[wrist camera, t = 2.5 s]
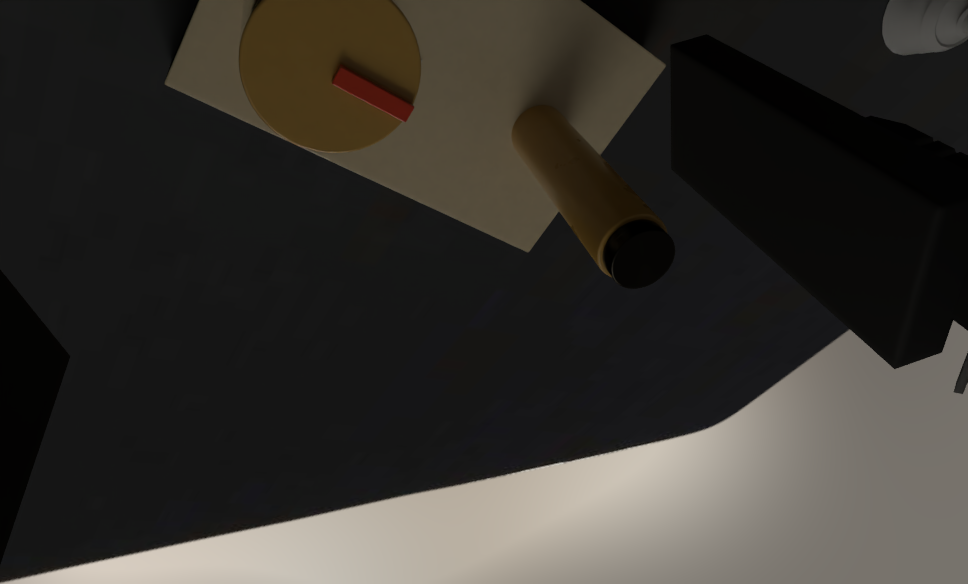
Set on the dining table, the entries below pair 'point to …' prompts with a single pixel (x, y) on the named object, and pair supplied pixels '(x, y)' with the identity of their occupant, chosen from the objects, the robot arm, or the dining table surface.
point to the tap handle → (329, 70)
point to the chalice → (925, 25)
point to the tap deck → (462, 99)
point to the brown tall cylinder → (593, 199)
